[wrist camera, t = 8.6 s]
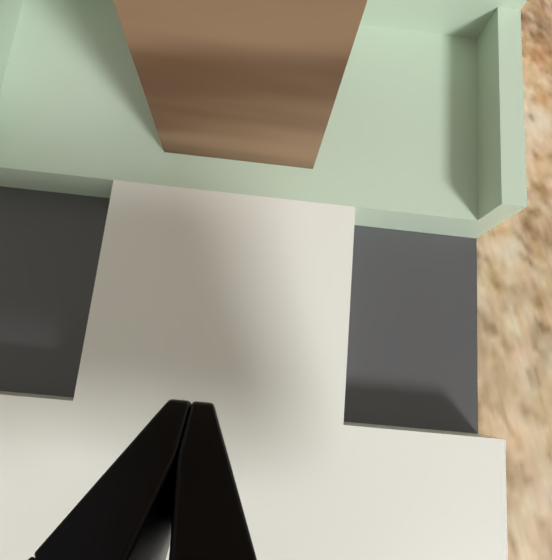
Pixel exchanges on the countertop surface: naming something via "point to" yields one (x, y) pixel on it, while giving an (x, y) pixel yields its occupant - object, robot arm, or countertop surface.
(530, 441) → the countertop surface
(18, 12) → the box
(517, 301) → the countertop surface
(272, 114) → the walnut block
